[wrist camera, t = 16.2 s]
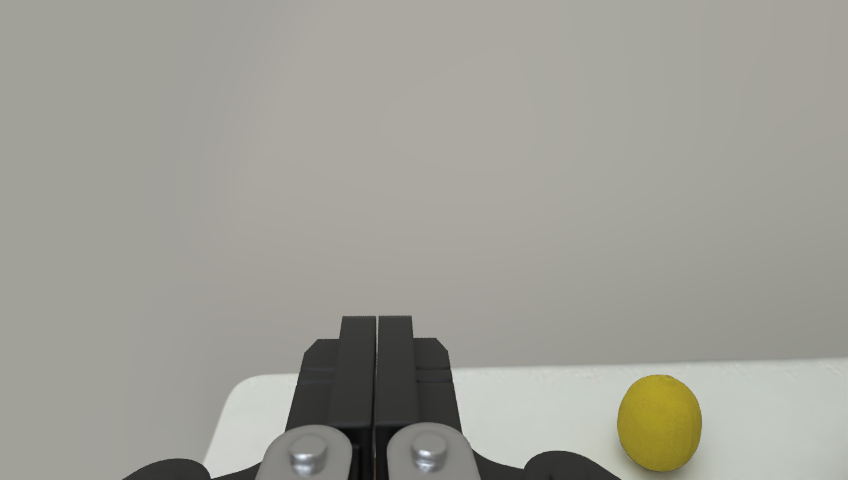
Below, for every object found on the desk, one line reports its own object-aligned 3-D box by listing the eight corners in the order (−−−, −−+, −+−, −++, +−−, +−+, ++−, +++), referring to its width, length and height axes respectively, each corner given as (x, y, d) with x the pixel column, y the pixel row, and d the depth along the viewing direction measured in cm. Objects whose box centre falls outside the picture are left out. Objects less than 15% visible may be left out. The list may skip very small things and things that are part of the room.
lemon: (700, 466, 42) (723, 377, 39) (671, 509, 38) (695, 414, 35) (629, 430, 45) (646, 346, 42) (597, 467, 42) (612, 376, 39)
